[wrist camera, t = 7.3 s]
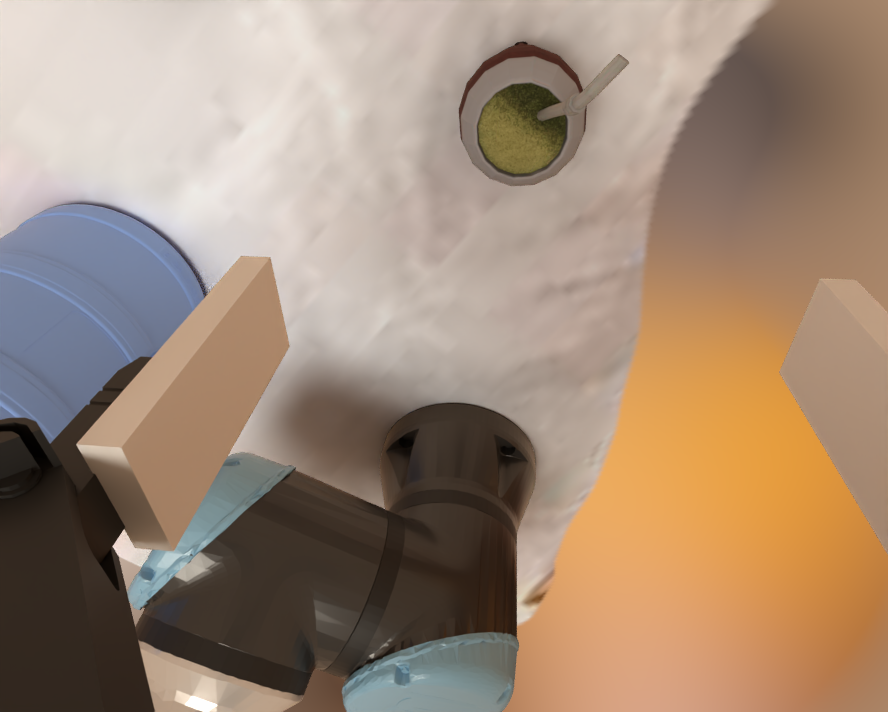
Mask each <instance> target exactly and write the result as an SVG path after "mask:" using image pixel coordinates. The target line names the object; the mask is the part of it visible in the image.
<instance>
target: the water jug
mask: <svg viewBox="0 0 888 712" xmlns="http://www.w3.org/2000/svg"><path fill="white" fill-rule="evenodd" d="M203 299H204V295H203V292H202V289H201V287H200V284H199V282H198V280H197V278H196V276H195V275H194V273H193V271H192V270H191V268H190V267H189V265H188V264H187V263H186V261H185V260H184V259H183V258H182V256H181V255H180V254H179V253H178V252H177V251H176V250H175V249H174V248H173V247H172V246H171V245H170V244H169V243H168V242H167V241H166V240H165V239H164V238H162V237H161V236H160V235H159V234H157V233H156V232H155V231H153V230H152V229H150V228H149V227H147V226H146V225H144V224H142V223H141V222H139V221H137V220H135V219H133V218H131V217H129V216H127V215H125V214H122V213H120V212H117V211H114V210H111V209H108V208H104V207H99V206H94V205H86V204H68V205H61V206H56V207H53V208H50V209H47V210H45V211H43V212H41V213H39V214H37V215H35V216H34V217H32V218H30V219H28V220H27V221H25V222H24V223H22V224H21V225H20V226H19V227H18V228H17V229H16V230H14V231H12V232H11V233H9V234H7V235H5V236H4V237H2V238H0V420H2V419H6V418H24V417H25V418H28V419H31V420H34V421H36V422H37V424H38V425H39V427H40V428H41V430H42V432H43V433H44V435H45V437H46V438H47V440H48V442H49V443H51V442H52V441H53V440H54V439H55V438H56V437H57V436H58V435H59V434H60V433H61V431H62V430H63V429H64V428H65V427H66V426H67V425H68V424H69V423H70V422H71V421H72V420H73V419H74V417H75V416H76V415H77V414H78V413H79V412H80V411H81V410H82V409H83V408H84V407H85V406H86V405H89V404H90V400H91V399H92V398H93V397H94V396H95V395H96V394H97V393H98V392H99V391H102V390H103V388H102V387H103V386H104V385H105V384H106V383H107V382H108V381H109V380H110V379H111V378H112V377H113V375H114V374H115V373H116V372H117V371H118V370H120V369H121V368H123V367H125V366H126V365H128V364H129V363H131V362H133V361H134V360H136V359H137V358H139V357H153V356H154V355H155V354H156V353H157V352H158V350H159V349H160V348H161V347H162V346H163V345H164V344H165V342H166V341H167V340H168V339H169V338H170V337H171V336H172V334H173V333H174V332H175V331H176V330H177V329H178V328H179V326H180V325H181V324H182V323H183V322H184V321H185V320H186V318H187V317H188V316H189V315H190V314H191V313H192V312H193V310H194V309H195V308H196V307H197V306H198V305H199V304H200V303H201V301H202V300H203Z"/></svg>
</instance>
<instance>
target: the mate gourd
mask: <svg viewBox="0 0 888 712" xmlns="http://www.w3.org/2000/svg"><path fill="white" fill-rule="evenodd" d="M628 64H629V62H628V60H626V59H625V58H624V57H623V56H621V55H620V54H618V55H617V56H616V57H615V58H614V59H613V60H612V61H611V62H610V63H609V64H608V65H607V66H606V67H605V69H604V70H603V71H602V72H601V73H600V74H599V75H598V76H597V77H596V78H595V79H594V80H593V81H592V82H591V83H590V84H589V85H588V87H586V88H585V89H584V90H583V89H582V87H581V84H580V81H579V79H578V76H577V74H576V73H575V72H574V71H573V70H572V69H571V68H570V67H569V66H568V65H567V64H566V63H565V62H564V61H563V60H562V58H561V57H560V56H558V55H557V54H554V53H551V52H549V51H546V50H544V49H541V48H539V47H536V46H534V45H528V43H526V42H517V43H516V44H515V46H512V47H509V48H507V49H505V50H504V51H502V52H500V53H498V54H497V55H495V56H493V57H491V58H490V59H488V60H486V61H485V62H483V64H482V65H481V66H480V68H479V69H478V70H477V71H476V73H475V74H474V75H473V76H472V78H471V79H470V80H469V81H468V83H467V85H466V88H465V91H464V94H463V98H462V101H461V104H460V107H459V119H460V133H461V140H462V142H463V144H464V146H465V148H466V150H467V152H468V154H469V157H470V159H471V161H472V163H473V164H474V165H475V166H476V167H477V168H479V169H480V170H481V171H482V172H483V173H484V174H485V175H486V176H488V177H489V178H490V179H493V180H495V181H498V182H501V183H504V184H507V185H510V186H521V185H535V184H537V183H539V182H541V181H543V180H546V179H548V178H550V177H552V176H554V175H556V174H557V173H558V172H559V171H560V170H561V169H562V168H563V167H564V166H565V165H566V164H567V163H568V162H569V161H570V160H571V159H572V158H573V157H574V155H575V152H576V150H577V148H578V146H579V143H580V141H581V139H582V137H583V135H584V132H585V125H586V107H587V104H588V103H589V102H590V101H592V100H593V99H594V98H595V97H596V96H597V95H598V94H599V93H600V92H601V91H602V90H603V89H604V88H605V87H606V86H607V85H608V84H609V83H610V82H611V81H612V80H613V79H614V78H615V77H616V76H617V75H618V74H619V73H620V72H621V71H622V70H623V69H624V68H625V67H626V66H627V65H628Z"/></svg>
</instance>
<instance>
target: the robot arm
mask: <svg viewBox="0 0 888 712" xmlns="http://www.w3.org/2000/svg"><path fill="white" fill-rule="evenodd" d="M288 348H289V341H288V336H287V332H286V327H285V323H284V318H283V314H282V309H281V304H280V300H279V295H278V291H277V286H276V281H275V277H274V272H273V268H272V263H271V259H270V257H249V256H241V257H240V258H239V259H238V260H237V261H236V263H235V264H234V265H233V266H232V267H231V268H230V269H229V271H228V272H227V273H226V274H225V275H224V276H223V277H222V279H221V280H220V281H219V282H218V283H217V284H216V285H215V287H214V288H213V289H212V290H211V291H210V292H209V293H208V295H207V296H206V297H205V298H204V299H203V300H202V301H201V303H200V304H199V305H198V306H197V307H196V308H195V309H194V310H193V312H192V313H191V314H190V315H189V316H188V317H187V318H186V320H185V321H184V322H183V323H182V324H181V325H180V326H179V328H178V329H177V330H176V331H175V332H174V333H173V334H172V336H171V337H170V338H169V339H168V340H167V341H166V342H165V344H164V345H163V346H162V347H161V348H160V349H159V350H158V352H157V353H156V354H155V355H154V356H153V357H139V358H137V359H136V360H134V361H133V362H131V363H129V364H128V365H126V366H125V367H123V368H121V369H120V370H118V371H117V372H116V373H115V374H114V375H113V377H112V378H111V379H110V380H109V381H108V382H107V383H106V384H105V385H104V386H103V387H102V388H103V390H102V391H99V392H98V393H97V394H96V395H95V396H94V397H93V398H92V399H91V400H90V404H89V405H86V406H85V407H84V408H83V409H82V410H81V411H80V412H79V413H78V414H77V415H76V416H75V417H74V419H73V420H72V421H71V422H70V423H69V424H68V425H67V426H66V427H65V428H64V429H63V430H62V431H61V433H60V434H59V435H58V436H57V437H56V438H55V439H54V440H53V441H52V442H51V443H49V442H48V440H47V438H46V437H45V435H44V433H43V432H42V430H41V428H40V427H39V425H38V424H37V422H36V421H34V420H31V419H28V418H25V417H24V418H6V419H2V420H0V712H282V711H284V710H286V709H288V708H290V707H291V706H293V705H295V704H297V703H298V702H300V701H301V700H302V698H303V696H304V693H305V690H306V688H307V685H308V683H309V679H310V677H311V674H312V673H313V671H314V669H317V670H320V671H324V672H326V673H329V674H332V675H335V676H338V677H340V678H343V679H345V682H344V685H343V689H342V695H343V704H344V707H345V709H346V711H347V712H502V711H503V710H504V709H505V707H506V706H507V705H508V703H509V701H510V699H511V697H512V694H513V689H514V679H515V668H516V656H517V651H518V648H519V642H518V640H517V548H516V546H517V530H518V528H519V525H520V523H521V520H522V518H523V515H524V513H525V510H526V508H527V505H528V503H529V500H530V498H531V495H532V493H533V490H534V486H535V479H536V470H535V454H534V451H533V448H532V445H531V443H530V442H529V440H528V438H527V437H526V436H525V434H524V433H523V432H522V431H521V430H520V429H519V428H518V427H517V426H516V425H515V424H513V423H512V422H511V421H509V420H508V419H506V418H504V417H503V416H501V415H499V414H497V413H495V412H492V411H489V410H487V409H484V408H480V407H476V406H471V405H464V404H440V405H433V406H428V407H425V408H421V409H418V410H416V411H414V412H412V413H410V414H408V415H406V416H404V417H403V418H402V419H400V420H399V421H398V422H397V423H396V424H395V425H394V426H393V427H392V428H391V430H390V431H389V433H388V435H387V437H386V439H385V443H384V447H383V450H382V454H381V458H380V476H381V483H382V490H383V497H384V504H385V509H383V508H381V507H379V506H376V505H374V504H371V503H369V502H367V501H364V500H362V499H360V498H358V497H355V496H353V495H351V494H348V493H346V492H344V491H342V490H339V489H337V488H335V487H332V486H330V485H328V484H326V483H323V482H321V481H319V480H316V479H314V478H312V477H310V476H307V475H305V474H303V473H300V472H298V471H296V470H295V469H296V467H294V466H292V465H289V466H284V465H281V464H278V463H276V462H273V461H270V460H268V459H265V458H262V457H260V456H257V455H254V454H251V453H245V452H241V453H235V454H232V455H230V456H228V454H229V453H230V451H231V449H232V447H233V446H234V444H235V442H236V440H237V438H238V437H239V435H240V433H241V431H242V430H243V428H244V426H245V424H246V422H247V421H248V419H249V417H250V415H251V414H252V412H253V410H254V408H255V407H256V405H257V403H258V401H259V399H260V398H261V396H262V394H263V392H264V391H265V389H266V387H267V385H268V384H269V382H270V380H271V378H272V376H273V375H274V373H275V371H276V369H277V368H278V366H279V364H280V362H281V361H282V359H283V357H284V355H285V353H286V352H287V350H288ZM779 373H780V375H781V376H782V378H783V380H784V381H785V383H786V385H787V386H788V388H789V390H790V391H791V393H792V395H793V396H794V398H795V400H796V401H797V403H798V405H799V406H800V408H801V410H802V411H803V413H804V415H805V416H806V418H807V420H808V421H809V423H810V425H811V427H812V428H813V430H814V431H815V433H816V435H817V437H818V438H819V440H820V442H821V443H822V445H823V447H824V448H825V450H826V451H827V453H828V455H829V457H830V458H831V460H832V462H833V463H834V465H835V467H836V468H837V470H838V472H839V474H840V475H841V477H842V479H843V480H844V482H845V484H846V485H847V487H848V489H849V490H850V492H851V493H852V495H853V497H854V499H855V500H856V502H857V504H858V505H859V507H860V509H861V510H862V512H863V514H864V515H865V517H866V519H867V520H868V522H869V524H870V525H871V527H872V529H873V530H874V532H875V534H876V536H877V537H878V539H879V540H880V542H881V544H882V545H883V547H884V549H885V551H886V552H887V554H888V312H887V311H886V310H885V309H884V308H883V307H882V306H881V305H880V304H879V303H878V302H877V301H876V300H875V299H874V298H873V297H872V296H871V295H870V294H869V293H868V292H867V291H866V290H865V289H864V288H863V287H862V286H861V285H860V284H859V283H858V282H857V281H856V280H849V279H824V278H820V280H819V282H818V285H817V287H816V289H815V292H814V294H813V296H812V298H811V301H810V303H809V305H808V308H807V310H806V312H805V314H804V317H803V319H802V321H801V324H800V326H799V328H798V330H797V333H796V335H795V337H794V340H793V342H792V344H791V347H790V349H789V351H788V353H787V356H786V358H785V360H784V363H783V365H782V367H781V370H780V372H779ZM227 456H228V457H227ZM124 529H125V531H126V533H127V535H128V536H129V538H130V540H131V542H132V543H133V545H134V547H135V548H141V549H152V551H151V553H150V554H149V556H148V559H147V560H146V562H145V563H144V564H143V566H142V568H141V570H140V571H139V573H138V574H137V575H136V576H135V578H134V579H133V581H132V583H131V585H130V587H129V589H128V591H126V586H125V582H124V578H123V574H122V570H121V565H120V561H119V557H118V555H117V553H116V552H115V550H114V548H113V547H112V546H113V545H114V543H115V542H116V540H117V539H118V537H119V536H120V534H121V533H122V531H123V530H124ZM129 602H130V603H131V604H132V605H133V608H135V609H138V610H141V609H142V608H145V609H144V611H143V614H142V615H141V617H140V619H139V621H138V623H137V625H136V627H135V625H134V621H133V616H132V612H131V608H130V603H129Z"/></svg>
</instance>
